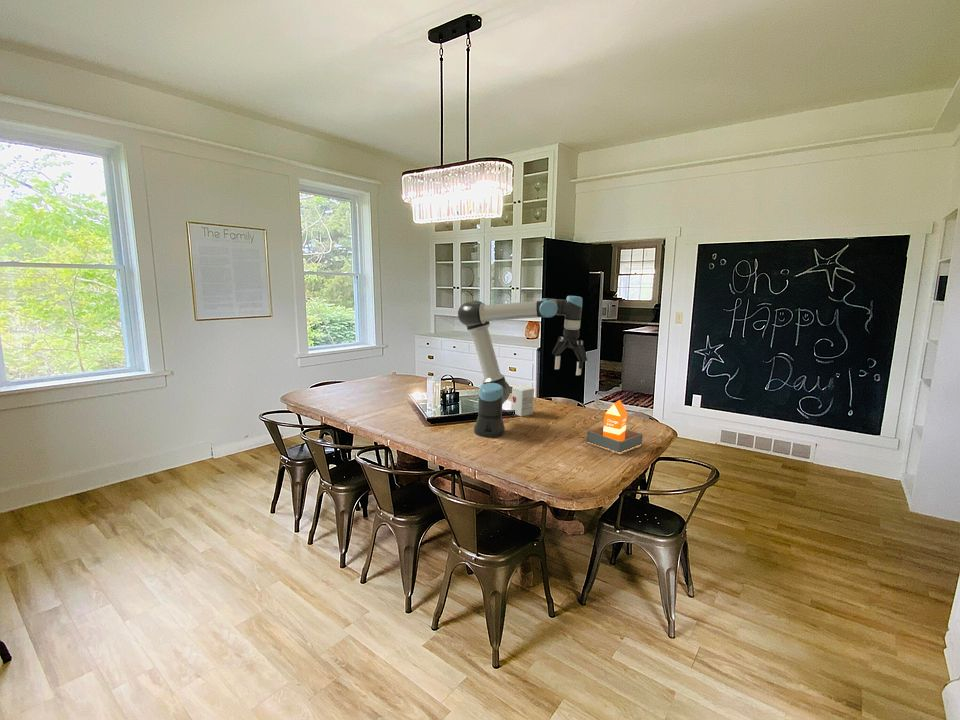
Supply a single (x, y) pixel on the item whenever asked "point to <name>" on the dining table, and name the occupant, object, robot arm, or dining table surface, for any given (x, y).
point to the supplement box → (522, 400)
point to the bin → (619, 446)
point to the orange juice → (615, 422)
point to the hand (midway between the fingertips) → (567, 372)
